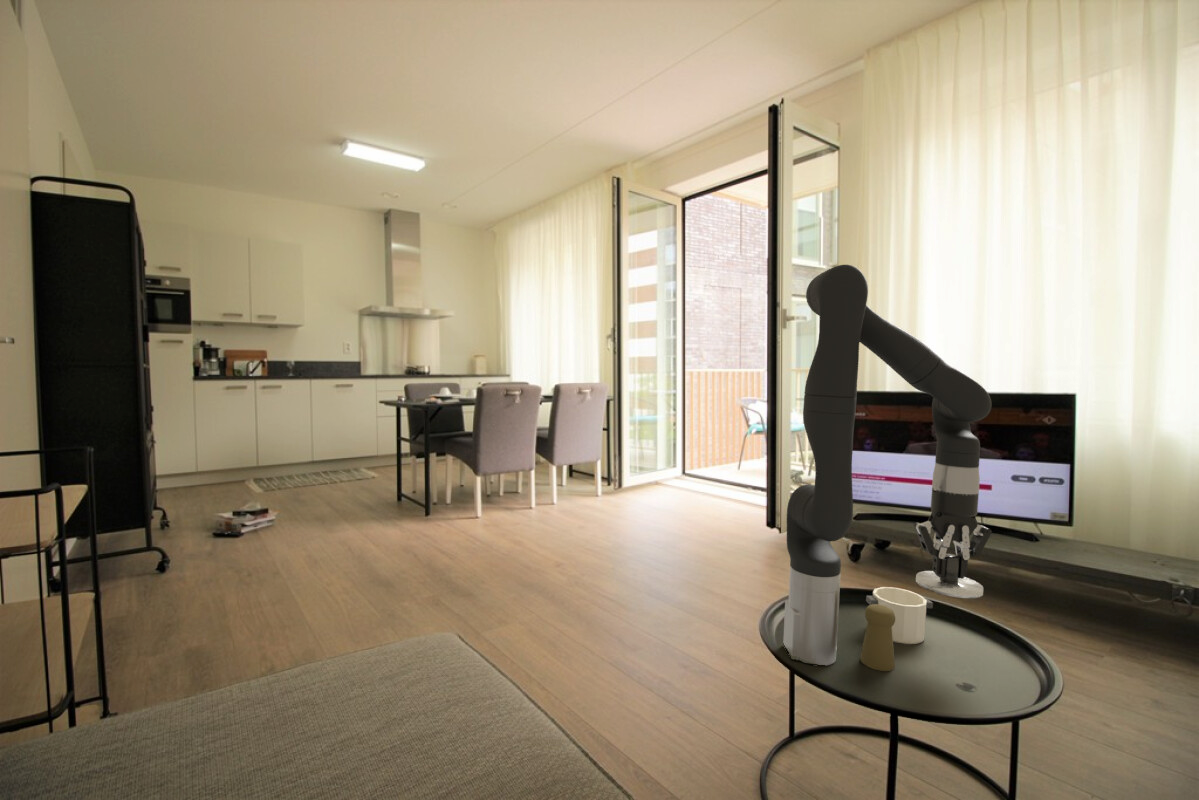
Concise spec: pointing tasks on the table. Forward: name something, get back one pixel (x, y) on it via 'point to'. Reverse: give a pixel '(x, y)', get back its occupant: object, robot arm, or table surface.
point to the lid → (950, 581)
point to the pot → (903, 612)
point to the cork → (878, 638)
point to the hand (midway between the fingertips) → (949, 576)
